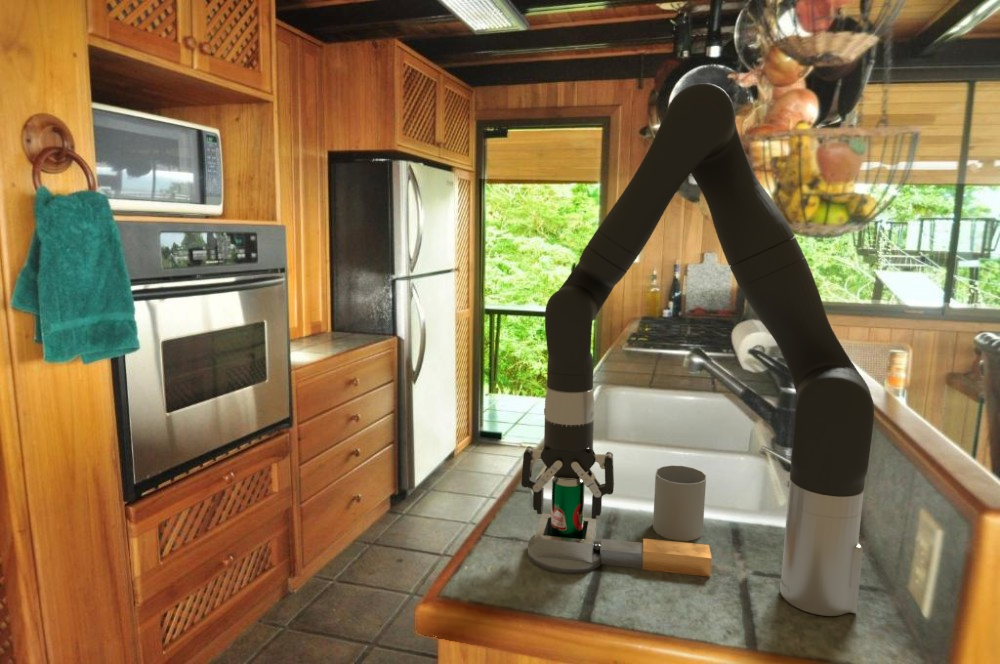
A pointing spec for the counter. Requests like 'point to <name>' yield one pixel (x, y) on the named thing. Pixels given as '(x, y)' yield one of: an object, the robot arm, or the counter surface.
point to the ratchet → (614, 552)
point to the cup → (679, 502)
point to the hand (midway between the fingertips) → (566, 514)
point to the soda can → (567, 507)
